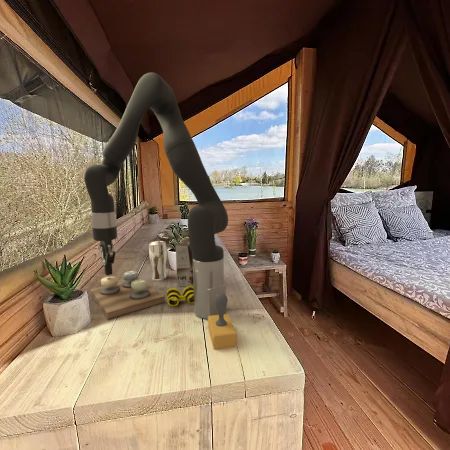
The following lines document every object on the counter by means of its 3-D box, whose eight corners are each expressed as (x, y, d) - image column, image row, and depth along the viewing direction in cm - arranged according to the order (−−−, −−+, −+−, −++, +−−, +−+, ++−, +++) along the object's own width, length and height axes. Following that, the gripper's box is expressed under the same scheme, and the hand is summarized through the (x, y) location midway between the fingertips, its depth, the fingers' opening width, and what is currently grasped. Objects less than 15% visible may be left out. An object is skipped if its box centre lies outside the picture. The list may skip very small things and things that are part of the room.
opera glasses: (168, 309, 87) (167, 296, 86) (166, 300, 92) (166, 287, 90) (197, 305, 90) (198, 292, 88) (194, 296, 95) (194, 283, 93)
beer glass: (146, 279, 111) (144, 243, 109) (158, 274, 117) (156, 240, 115) (160, 282, 108) (158, 245, 106) (171, 276, 114) (169, 241, 112)
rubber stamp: (208, 327, 75) (207, 286, 73) (228, 325, 76) (228, 284, 74) (213, 349, 65) (212, 303, 63) (237, 346, 66) (236, 300, 64)
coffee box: (192, 287, 102) (191, 245, 100) (176, 286, 104) (174, 245, 101) (199, 278, 111) (198, 240, 109) (184, 277, 113) (183, 239, 110)
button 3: (140, 278, 100) (139, 273, 99) (126, 281, 97) (126, 276, 96) (135, 274, 104) (135, 269, 103) (122, 277, 101) (121, 272, 100)
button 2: (149, 288, 91) (149, 282, 90) (134, 292, 88) (134, 286, 87) (143, 284, 95) (143, 278, 94) (129, 287, 92) (128, 281, 91)
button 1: (118, 284, 94) (118, 278, 94) (103, 288, 91) (102, 282, 91) (114, 280, 98) (114, 274, 98) (99, 283, 95) (99, 278, 95)
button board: (164, 301, 91) (163, 293, 90) (107, 319, 80) (106, 309, 79) (140, 282, 108) (139, 275, 107) (91, 294, 97) (90, 286, 97)
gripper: (121, 226, 88) (125, 277, 91) (110, 221, 99) (114, 267, 102) (97, 229, 84) (101, 282, 87) (88, 223, 94) (92, 271, 97)
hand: (108, 274), depth 94 cm, fingers closed
